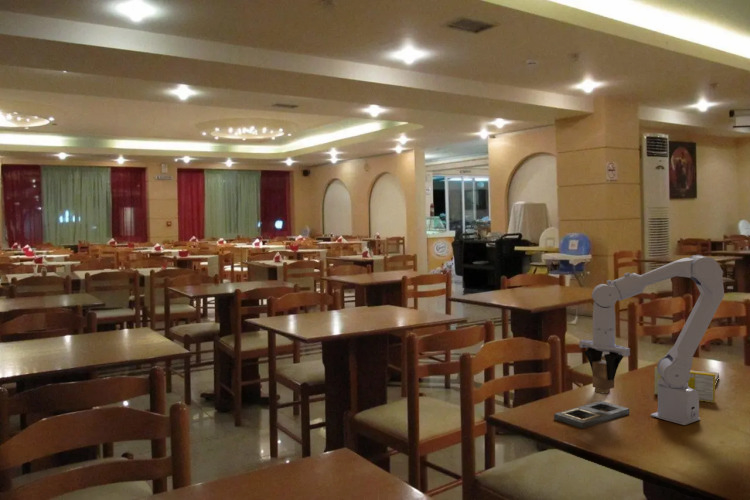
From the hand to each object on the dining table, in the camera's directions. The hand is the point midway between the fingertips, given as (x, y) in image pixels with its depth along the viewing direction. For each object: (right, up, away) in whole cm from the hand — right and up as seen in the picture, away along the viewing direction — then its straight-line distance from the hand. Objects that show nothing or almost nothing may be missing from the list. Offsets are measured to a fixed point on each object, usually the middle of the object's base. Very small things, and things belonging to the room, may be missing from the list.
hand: (603, 377), depth 166 cm
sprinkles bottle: (+7, -9, +21) cm, 24 cm away
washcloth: (+42, -9, +31) cm, 53 cm away
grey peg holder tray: (-4, -10, -2) cm, 11 cm away
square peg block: (0, -3, 0) cm, 3 cm away
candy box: (+29, -9, +14) cm, 34 cm away
